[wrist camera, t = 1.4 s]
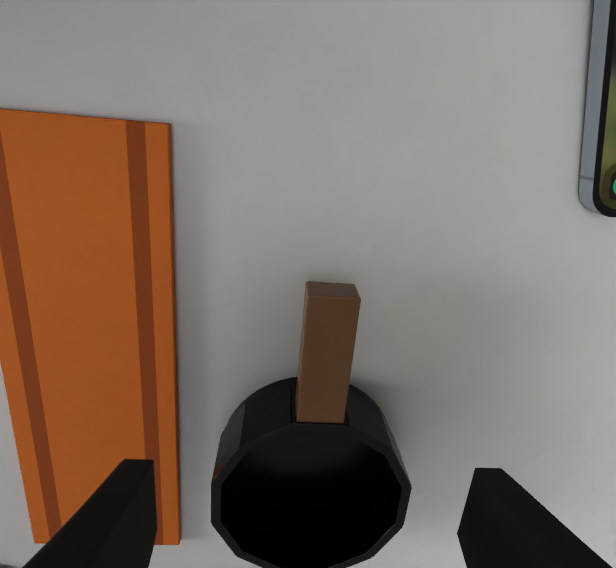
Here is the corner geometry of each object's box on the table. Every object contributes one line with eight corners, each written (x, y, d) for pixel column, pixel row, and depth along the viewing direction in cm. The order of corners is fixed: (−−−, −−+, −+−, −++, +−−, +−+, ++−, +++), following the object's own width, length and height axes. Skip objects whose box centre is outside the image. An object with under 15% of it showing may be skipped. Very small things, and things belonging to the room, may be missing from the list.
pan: (377, 512, 22) (392, 575, 19) (220, 509, 21) (210, 574, 18) (422, 273, 17) (452, 304, 14) (225, 260, 17) (212, 290, 14)
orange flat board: (181, 538, 22) (179, 545, 21) (38, 536, 21) (34, 543, 21) (171, 123, 15) (168, 123, 15) (-40, 105, 14) (-49, 104, 14)
